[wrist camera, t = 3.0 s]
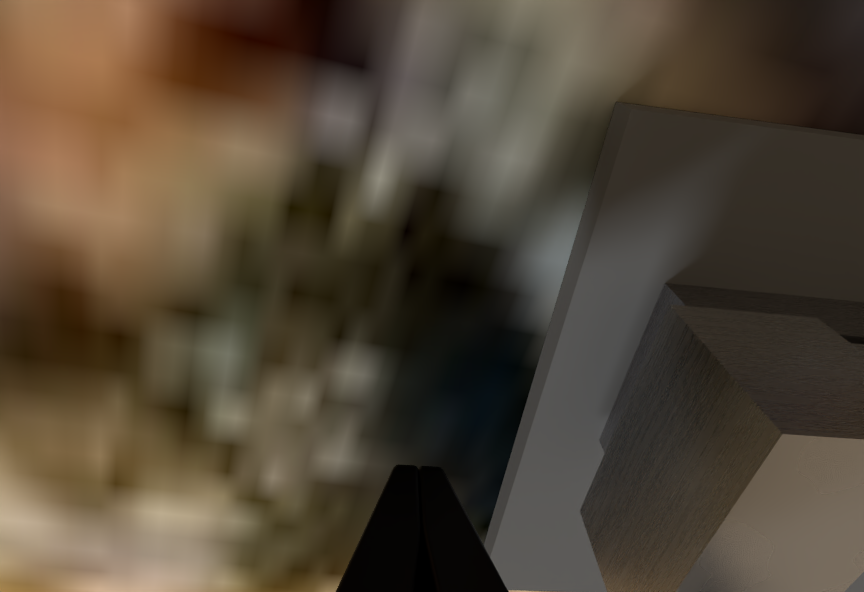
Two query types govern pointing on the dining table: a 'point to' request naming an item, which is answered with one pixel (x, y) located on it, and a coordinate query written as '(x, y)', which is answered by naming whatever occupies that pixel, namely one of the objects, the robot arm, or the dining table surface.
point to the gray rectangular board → (642, 284)
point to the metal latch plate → (735, 460)
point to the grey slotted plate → (840, 315)
